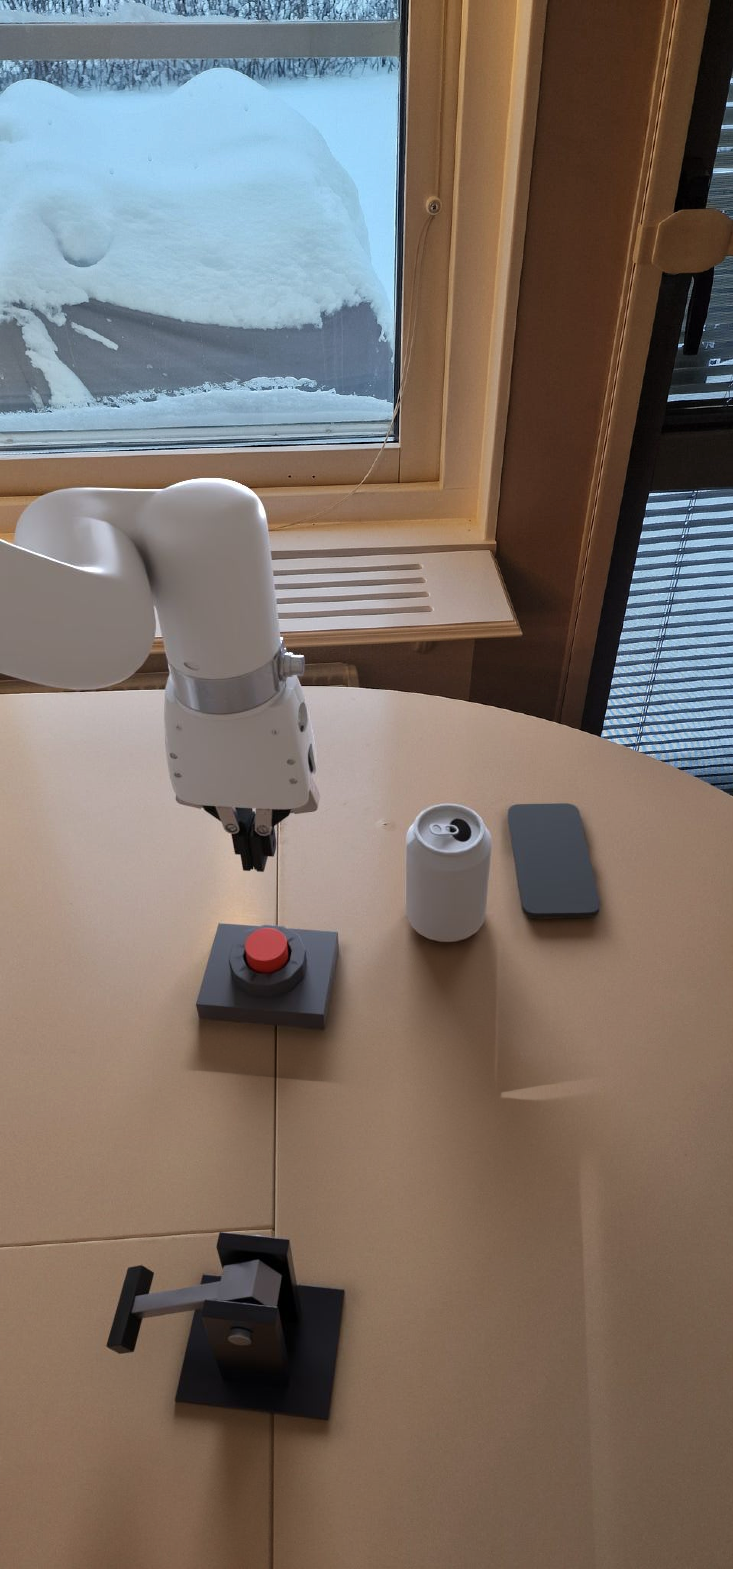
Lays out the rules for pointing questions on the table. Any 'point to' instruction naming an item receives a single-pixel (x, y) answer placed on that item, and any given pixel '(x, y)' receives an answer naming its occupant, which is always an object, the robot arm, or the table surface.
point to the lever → (187, 1297)
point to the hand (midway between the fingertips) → (257, 857)
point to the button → (266, 950)
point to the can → (447, 872)
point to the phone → (552, 861)
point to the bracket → (264, 1341)
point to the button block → (269, 979)
